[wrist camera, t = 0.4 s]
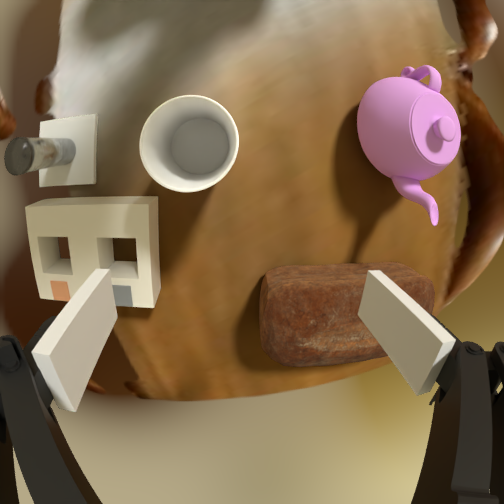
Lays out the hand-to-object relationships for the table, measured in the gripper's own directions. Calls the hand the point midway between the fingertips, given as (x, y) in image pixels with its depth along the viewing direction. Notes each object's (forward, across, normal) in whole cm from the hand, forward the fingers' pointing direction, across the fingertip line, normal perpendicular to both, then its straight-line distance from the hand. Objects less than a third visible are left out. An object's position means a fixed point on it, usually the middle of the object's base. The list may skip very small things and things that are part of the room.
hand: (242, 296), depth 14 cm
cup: (+28, -4, +7) cm, 29 cm away
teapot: (+28, +24, +12) cm, 39 cm away
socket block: (+27, -19, -7) cm, 34 cm away
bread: (+28, +19, -15) cm, 37 cm away
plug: (+26, -24, +7) cm, 36 cm away
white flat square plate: (+28, -24, +7) cm, 37 cm away
